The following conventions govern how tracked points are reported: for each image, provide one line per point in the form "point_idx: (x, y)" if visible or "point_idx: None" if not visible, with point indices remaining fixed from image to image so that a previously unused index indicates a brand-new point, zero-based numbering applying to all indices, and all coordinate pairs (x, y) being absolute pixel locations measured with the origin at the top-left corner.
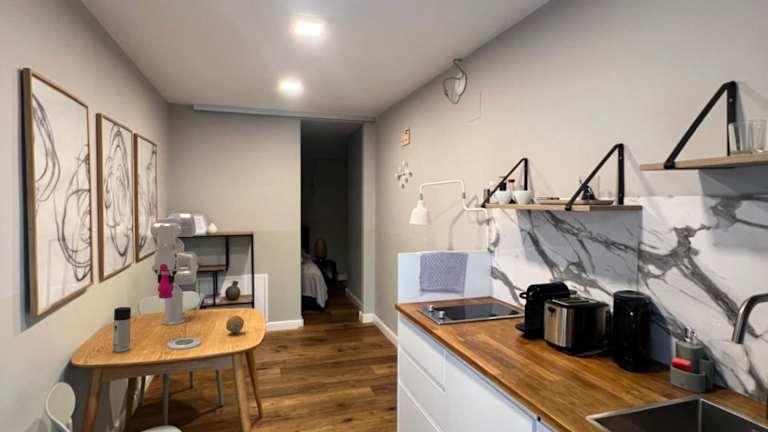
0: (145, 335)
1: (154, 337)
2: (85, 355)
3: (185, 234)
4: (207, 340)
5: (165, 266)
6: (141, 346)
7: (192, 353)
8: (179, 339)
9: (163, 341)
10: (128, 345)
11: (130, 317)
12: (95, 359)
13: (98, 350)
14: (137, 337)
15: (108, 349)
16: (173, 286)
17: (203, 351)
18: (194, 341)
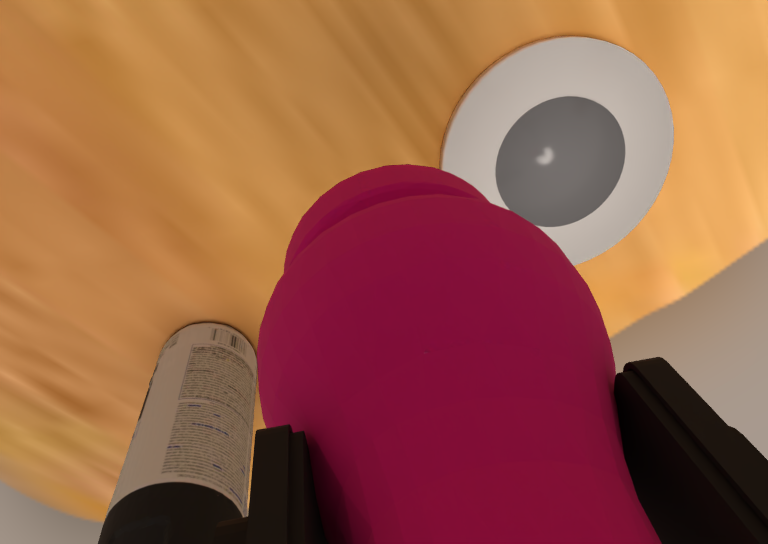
0: (54, 24)
1: (190, 58)
2: (88, 475)
3: None
4: (682, 15)
5: None
6: (276, 270)
7: (681, 284)
8: (484, 113)
9: (348, 134)
10: (254, 369)
11: (231, 508)
12: None
13: (69, 402)
14: (41, 98)
15: (113, 372)
16: (589, 291)
17: (734, 238)
18: (625, 126)
